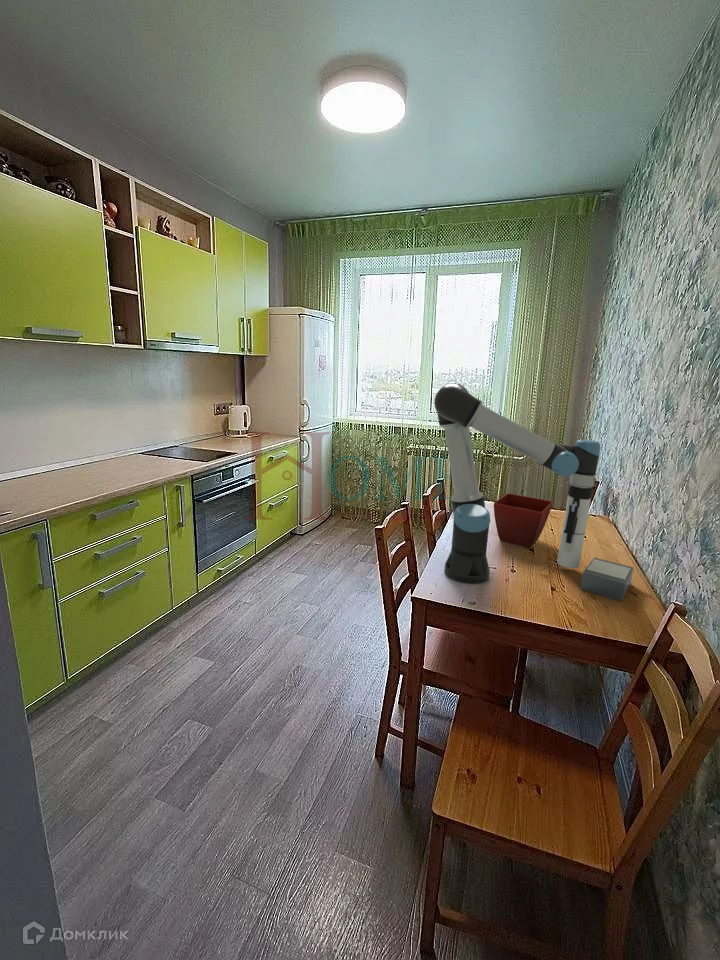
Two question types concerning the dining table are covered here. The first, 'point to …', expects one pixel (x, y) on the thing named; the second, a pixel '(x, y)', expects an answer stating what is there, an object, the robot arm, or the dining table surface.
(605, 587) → the grey rectangular block
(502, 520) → the plant pot
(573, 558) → the cylindrical container
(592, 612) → the dining table surface
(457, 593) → the dining table surface
